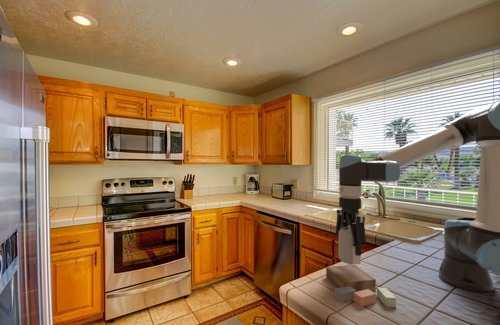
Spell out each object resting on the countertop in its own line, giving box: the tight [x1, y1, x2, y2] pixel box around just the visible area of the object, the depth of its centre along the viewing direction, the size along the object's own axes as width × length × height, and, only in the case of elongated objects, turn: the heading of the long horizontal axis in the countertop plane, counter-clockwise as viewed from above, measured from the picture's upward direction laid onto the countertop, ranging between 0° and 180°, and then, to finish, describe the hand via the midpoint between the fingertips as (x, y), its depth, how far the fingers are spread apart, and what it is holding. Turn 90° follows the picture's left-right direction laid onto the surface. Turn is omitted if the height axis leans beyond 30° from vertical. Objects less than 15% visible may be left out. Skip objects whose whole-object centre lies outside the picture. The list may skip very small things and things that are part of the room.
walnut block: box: [325, 264, 377, 292], centre depth 86 cm, size 12×12×4 cm
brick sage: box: [376, 286, 397, 308], centre depth 75 cm, size 6×3×3 cm, turn 176°
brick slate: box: [334, 286, 356, 303], centre depth 76 cm, size 6×3×3 cm, turn 108°
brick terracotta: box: [353, 289, 377, 307], centre depth 74 cm, size 6×3×3 cm, turn 111°
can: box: [337, 226, 354, 265], centre depth 86 cm, size 8×8×12 cm
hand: (349, 259), depth 86 cm, fingers closed on can, 7 cm apart
